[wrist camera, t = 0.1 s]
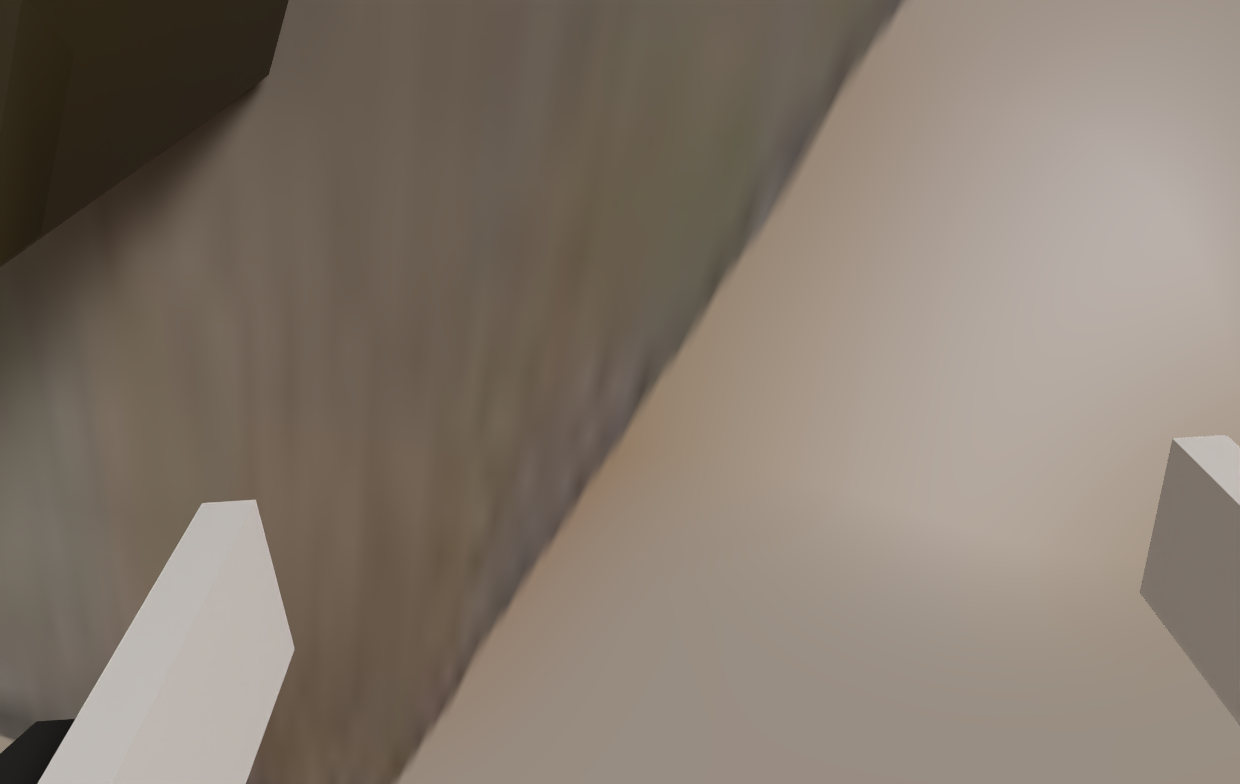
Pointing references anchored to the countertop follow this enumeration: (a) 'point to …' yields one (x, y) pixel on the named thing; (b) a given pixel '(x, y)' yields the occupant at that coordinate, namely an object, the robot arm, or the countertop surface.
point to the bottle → (112, 93)
